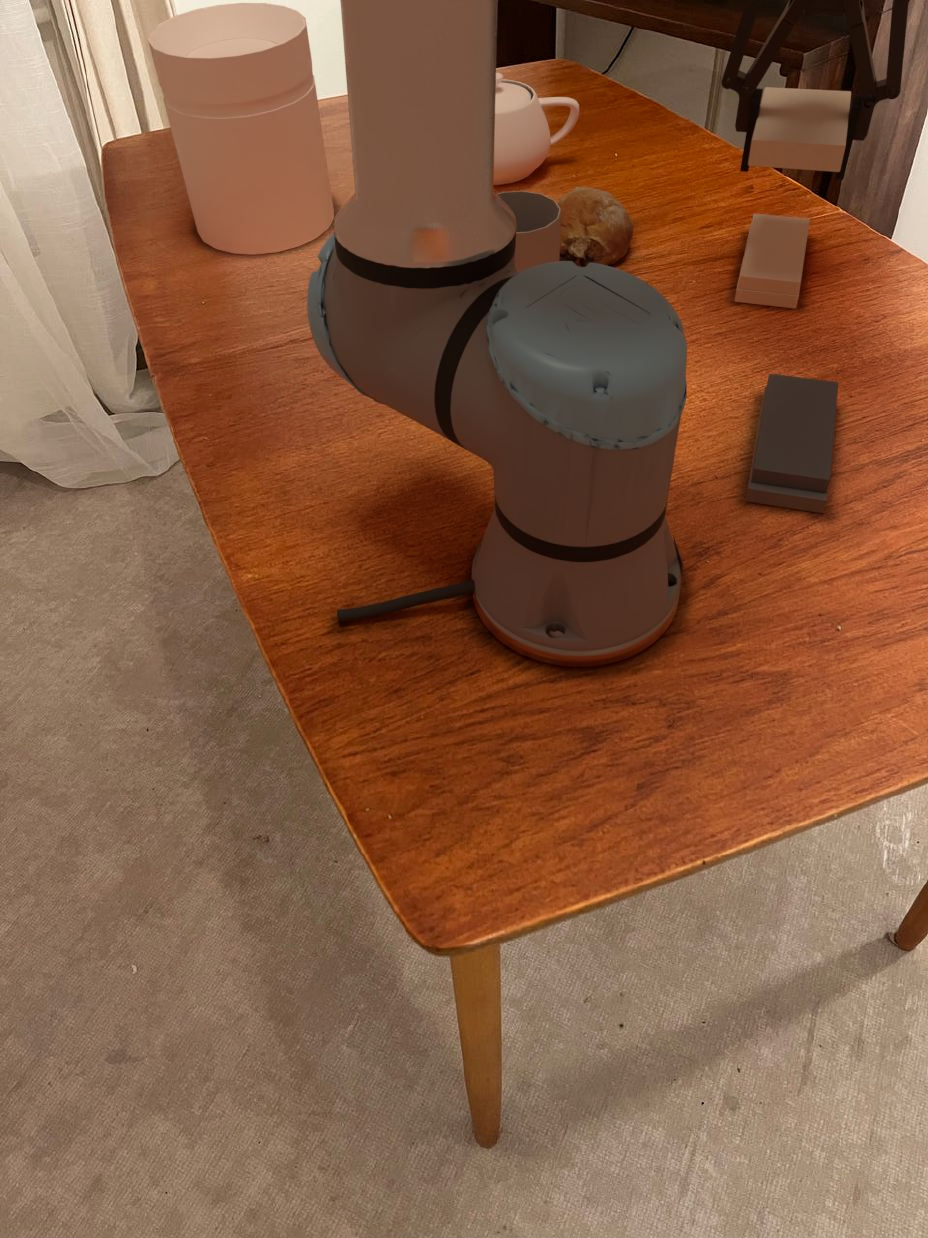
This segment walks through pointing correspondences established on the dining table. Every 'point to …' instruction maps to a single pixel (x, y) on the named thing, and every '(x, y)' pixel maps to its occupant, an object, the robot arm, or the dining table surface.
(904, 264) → the dining table surface
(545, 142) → the teapot
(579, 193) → the bread roll
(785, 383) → the grey stack
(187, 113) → the canister
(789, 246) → the white stack
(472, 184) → the robot arm
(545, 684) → the dining table surface
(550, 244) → the cup
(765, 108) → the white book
